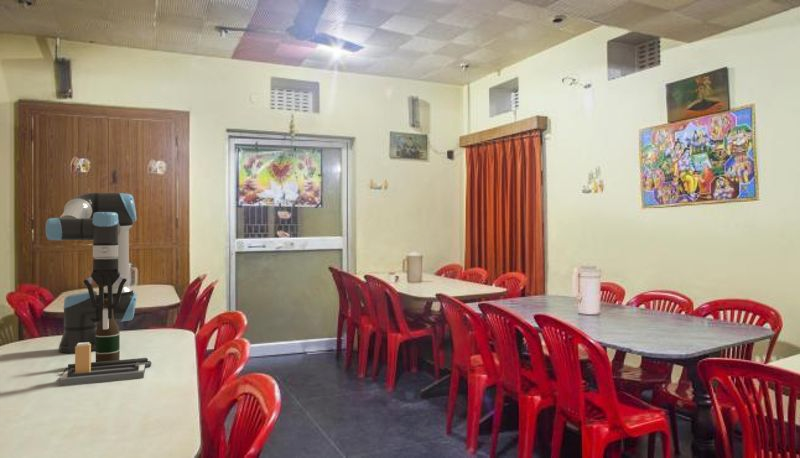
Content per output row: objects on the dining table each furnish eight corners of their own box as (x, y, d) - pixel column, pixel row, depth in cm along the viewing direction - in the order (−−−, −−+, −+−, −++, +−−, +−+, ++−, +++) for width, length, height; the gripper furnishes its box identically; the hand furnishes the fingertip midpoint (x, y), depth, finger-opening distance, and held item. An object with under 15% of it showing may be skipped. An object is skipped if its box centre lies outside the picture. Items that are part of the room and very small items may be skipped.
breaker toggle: (77, 371, 180) (77, 342, 180) (90, 370, 182) (90, 341, 182) (75, 374, 177) (75, 345, 177) (89, 373, 178) (89, 344, 178)
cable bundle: (63, 375, 184) (63, 365, 184) (65, 372, 188) (65, 363, 188) (151, 367, 195) (151, 358, 195) (151, 365, 198) (151, 356, 198)
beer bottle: (109, 367, 195) (109, 300, 195) (90, 366, 197) (90, 299, 197) (124, 361, 203) (124, 297, 203) (106, 361, 204) (106, 297, 204)
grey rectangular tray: (66, 376, 183) (66, 366, 183) (145, 369, 192) (145, 359, 192) (59, 386, 172) (59, 375, 172) (143, 377, 181) (143, 367, 181)
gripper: (81, 259, 176) (81, 332, 176) (126, 258, 181) (126, 329, 181) (84, 258, 183) (85, 328, 183) (128, 257, 188) (128, 325, 188)
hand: (105, 328), depth 182 cm, fingers closed
